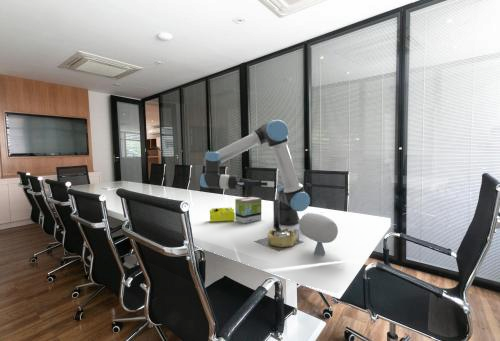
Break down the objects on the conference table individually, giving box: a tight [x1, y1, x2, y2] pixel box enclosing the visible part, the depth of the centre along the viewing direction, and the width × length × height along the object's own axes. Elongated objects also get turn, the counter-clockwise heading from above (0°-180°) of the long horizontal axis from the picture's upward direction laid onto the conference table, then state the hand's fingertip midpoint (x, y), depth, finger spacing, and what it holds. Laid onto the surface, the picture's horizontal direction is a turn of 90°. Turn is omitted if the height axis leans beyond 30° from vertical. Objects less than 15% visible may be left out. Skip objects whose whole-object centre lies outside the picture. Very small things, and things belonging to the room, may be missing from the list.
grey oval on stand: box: [298, 212, 339, 256], centre depth 111 cm, size 15×20×18 cm
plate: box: [253, 229, 304, 252], centre depth 124 cm, size 17×18×6 cm
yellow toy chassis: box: [209, 207, 235, 223], centre depth 168 cm, size 16×6×8 cm, turn 99°
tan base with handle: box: [267, 198, 296, 247], centre depth 124 cm, size 16×13×19 cm
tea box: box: [234, 196, 262, 224], centre depth 168 cm, size 15×10×15 cm, turn 131°
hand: (273, 184), depth 130 cm, fingers closed
